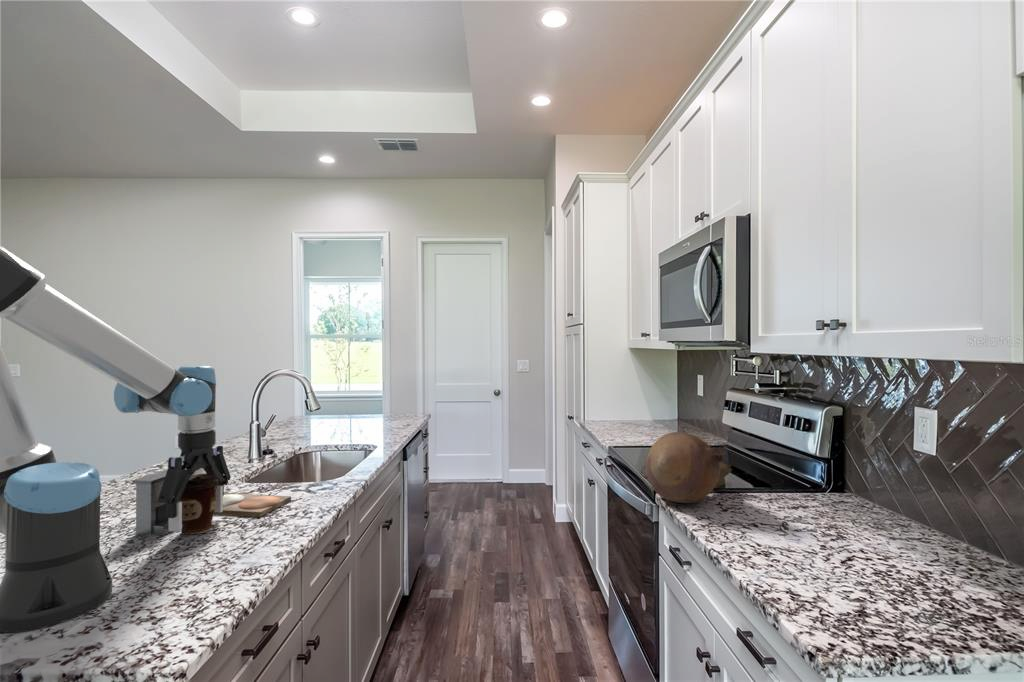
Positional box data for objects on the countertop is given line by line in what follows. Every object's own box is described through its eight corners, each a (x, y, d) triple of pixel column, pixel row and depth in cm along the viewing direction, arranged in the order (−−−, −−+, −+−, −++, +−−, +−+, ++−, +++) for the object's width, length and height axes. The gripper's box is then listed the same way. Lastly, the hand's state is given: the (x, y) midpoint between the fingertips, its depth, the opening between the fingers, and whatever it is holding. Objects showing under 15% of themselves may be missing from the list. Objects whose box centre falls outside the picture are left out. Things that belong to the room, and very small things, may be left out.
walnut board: (260, 516, 123) (260, 511, 123) (188, 512, 126) (188, 507, 126) (291, 500, 136) (291, 495, 136) (224, 497, 139) (224, 491, 139)
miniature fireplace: (160, 536, 111) (160, 481, 111) (132, 534, 112) (132, 480, 112) (191, 522, 120) (191, 471, 120) (165, 520, 121) (165, 470, 121)
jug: (678, 518, 122) (743, 515, 139) (700, 445, 121) (762, 451, 137) (622, 483, 139) (685, 484, 156) (640, 418, 138) (702, 426, 154)
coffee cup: (196, 539, 109) (196, 482, 109) (165, 536, 111) (166, 480, 111) (226, 525, 118) (226, 472, 118) (197, 522, 119) (197, 470, 119)
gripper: (167, 440, 102) (167, 542, 102) (246, 422, 126) (246, 504, 126) (137, 439, 103) (137, 540, 103) (220, 421, 127) (220, 503, 127)
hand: (197, 520), depth 114 cm, fingers open, 12 cm apart
